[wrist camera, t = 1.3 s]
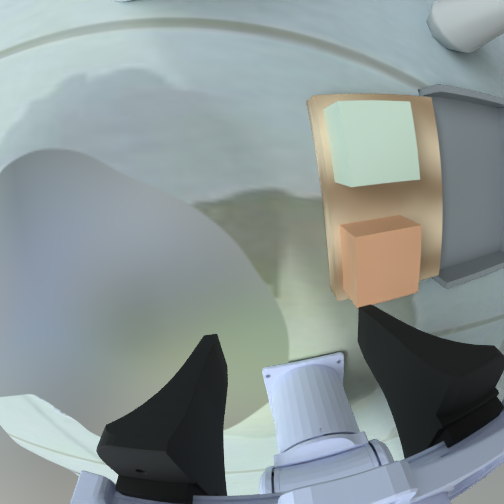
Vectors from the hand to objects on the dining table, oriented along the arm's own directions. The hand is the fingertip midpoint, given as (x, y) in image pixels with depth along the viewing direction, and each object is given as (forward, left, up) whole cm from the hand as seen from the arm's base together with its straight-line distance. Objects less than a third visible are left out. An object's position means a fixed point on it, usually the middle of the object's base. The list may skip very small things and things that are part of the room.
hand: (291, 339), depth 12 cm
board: (+4, -10, -10) cm, 14 cm away
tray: (+4, -21, -10) cm, 23 cm away
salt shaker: (+19, -21, -10) cm, 30 cm away
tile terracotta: (0, -8, -8) cm, 11 cm away
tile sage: (+8, -8, -8) cm, 14 cm away
